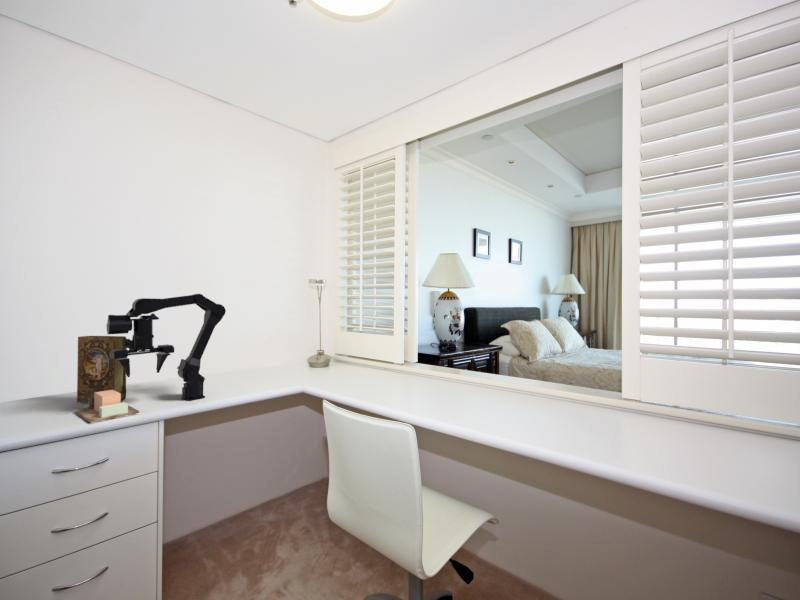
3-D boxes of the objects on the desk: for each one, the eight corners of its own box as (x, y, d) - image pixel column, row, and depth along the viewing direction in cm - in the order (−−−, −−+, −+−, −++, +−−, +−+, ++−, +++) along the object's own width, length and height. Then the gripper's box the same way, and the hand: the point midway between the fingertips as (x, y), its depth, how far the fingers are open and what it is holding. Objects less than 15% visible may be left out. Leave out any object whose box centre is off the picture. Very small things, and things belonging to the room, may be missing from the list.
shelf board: (121, 404, 134) (121, 401, 134) (138, 413, 123) (138, 410, 123) (75, 412, 124) (75, 410, 124) (90, 423, 113) (90, 420, 113)
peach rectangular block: (112, 406, 128) (112, 389, 128) (120, 411, 123) (120, 393, 123) (94, 409, 124) (94, 392, 124) (102, 414, 119) (102, 396, 119)
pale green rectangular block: (124, 410, 123) (124, 402, 123) (127, 412, 121) (127, 403, 121) (98, 416, 118) (99, 406, 118) (101, 417, 116) (101, 408, 116)
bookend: (111, 403, 132) (112, 392, 132) (114, 405, 130) (114, 393, 130) (87, 408, 126) (87, 396, 126) (89, 409, 125) (89, 398, 125)
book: (74, 402, 136) (75, 337, 137) (88, 398, 142) (88, 335, 142) (113, 404, 135) (114, 337, 135) (126, 400, 140) (126, 336, 140)
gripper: (163, 329, 144) (163, 368, 144) (104, 333, 129) (105, 376, 129) (174, 330, 137) (175, 371, 137) (114, 335, 122) (115, 380, 122)
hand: (143, 374), depth 132 cm, fingers open, 9 cm apart
